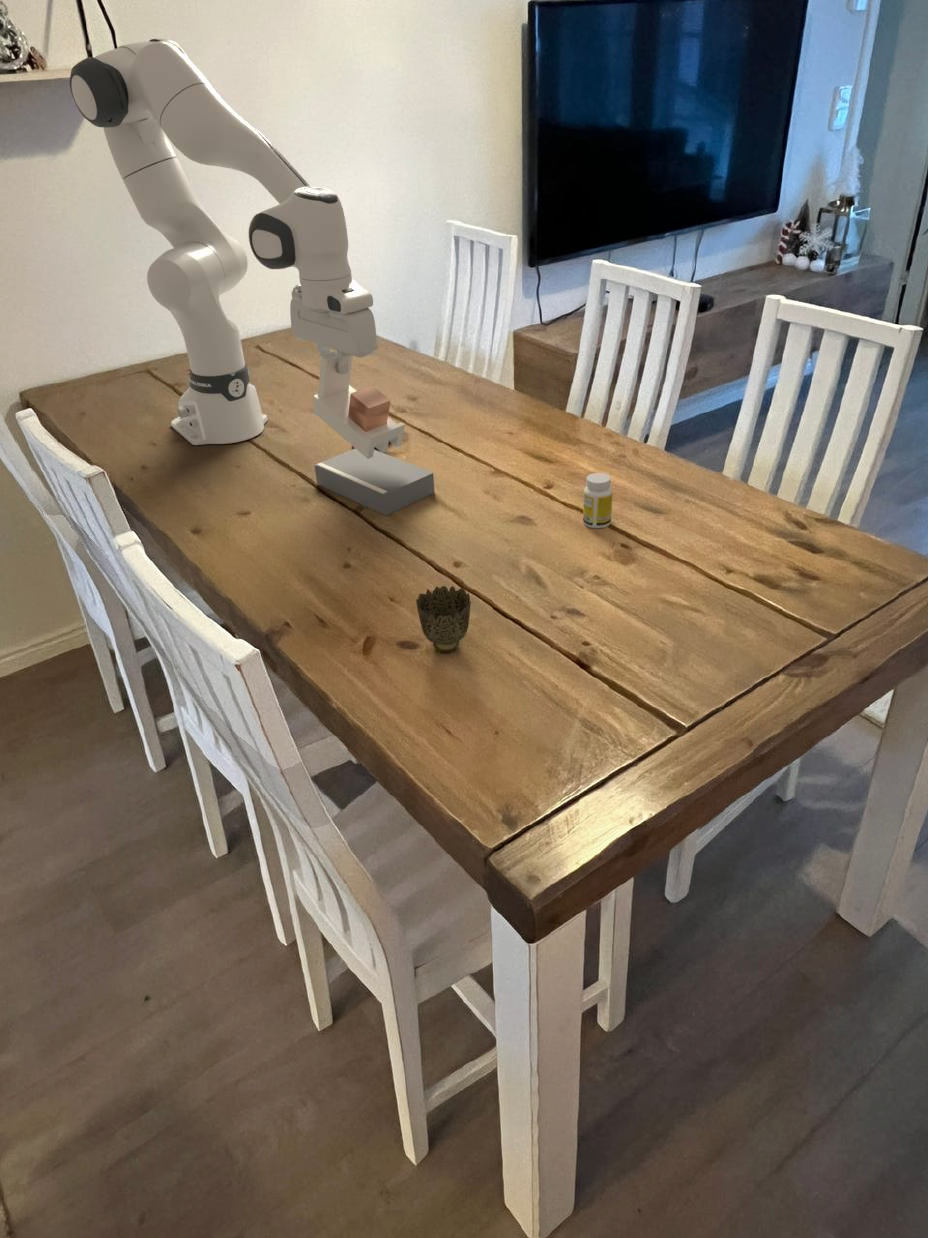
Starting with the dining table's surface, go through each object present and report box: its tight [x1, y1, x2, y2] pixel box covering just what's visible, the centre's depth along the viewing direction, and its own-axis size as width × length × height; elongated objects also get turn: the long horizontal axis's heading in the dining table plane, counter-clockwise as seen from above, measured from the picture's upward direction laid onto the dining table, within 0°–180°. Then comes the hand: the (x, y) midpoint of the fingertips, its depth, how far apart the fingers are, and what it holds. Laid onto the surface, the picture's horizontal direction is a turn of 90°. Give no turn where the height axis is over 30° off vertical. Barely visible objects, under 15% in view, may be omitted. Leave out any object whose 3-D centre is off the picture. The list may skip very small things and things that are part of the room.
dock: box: [314, 448, 435, 516], centre depth 169 cm, size 20×12×4 cm, turn 45°
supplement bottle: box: [582, 472, 613, 529], centre depth 153 cm, size 5×5×8 cm
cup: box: [415, 585, 472, 653], centre depth 124 cm, size 8×7×8 cm
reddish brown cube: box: [348, 385, 391, 432], centre depth 161 cm, size 5×5×5 cm
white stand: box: [311, 350, 406, 459], centre depth 162 cm, size 16×8×11 cm, turn 46°
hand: (336, 371), depth 163 cm, fingers closed on white stand, 2 cm apart
